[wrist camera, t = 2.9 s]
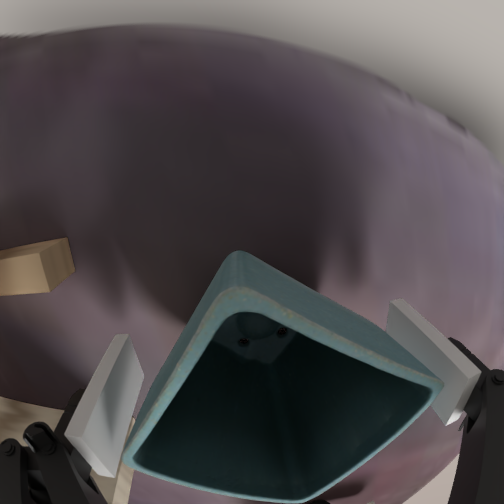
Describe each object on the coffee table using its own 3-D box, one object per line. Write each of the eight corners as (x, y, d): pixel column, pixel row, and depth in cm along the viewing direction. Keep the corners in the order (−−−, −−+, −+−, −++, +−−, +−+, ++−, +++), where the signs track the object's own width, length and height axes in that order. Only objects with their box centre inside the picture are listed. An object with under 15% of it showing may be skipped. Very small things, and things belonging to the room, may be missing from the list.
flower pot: (154, 341, 16) (115, 466, 7) (226, 210, 14) (228, 279, 6) (277, 391, 18) (304, 505, 9) (358, 288, 16) (450, 384, 8)
